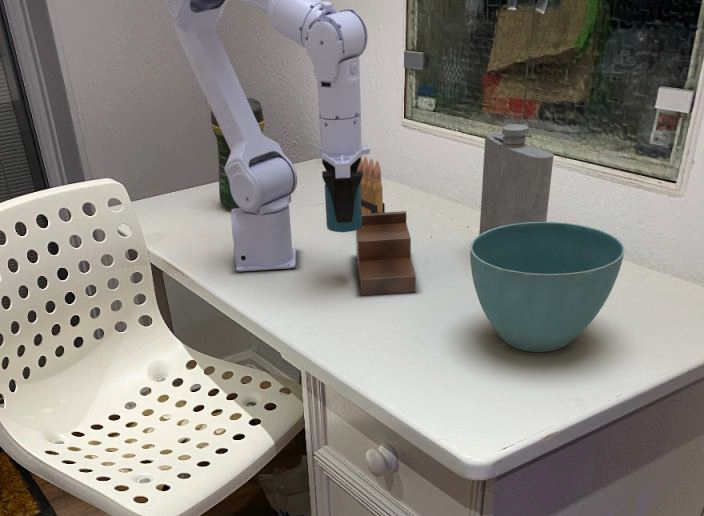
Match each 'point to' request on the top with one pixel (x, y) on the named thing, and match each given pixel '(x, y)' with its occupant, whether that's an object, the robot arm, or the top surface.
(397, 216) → the step shelf
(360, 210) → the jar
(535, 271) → the teal bowl
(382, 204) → the ammunition clip
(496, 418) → the top surface
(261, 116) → the coffee jar
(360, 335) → the top surface
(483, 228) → the hip flask
